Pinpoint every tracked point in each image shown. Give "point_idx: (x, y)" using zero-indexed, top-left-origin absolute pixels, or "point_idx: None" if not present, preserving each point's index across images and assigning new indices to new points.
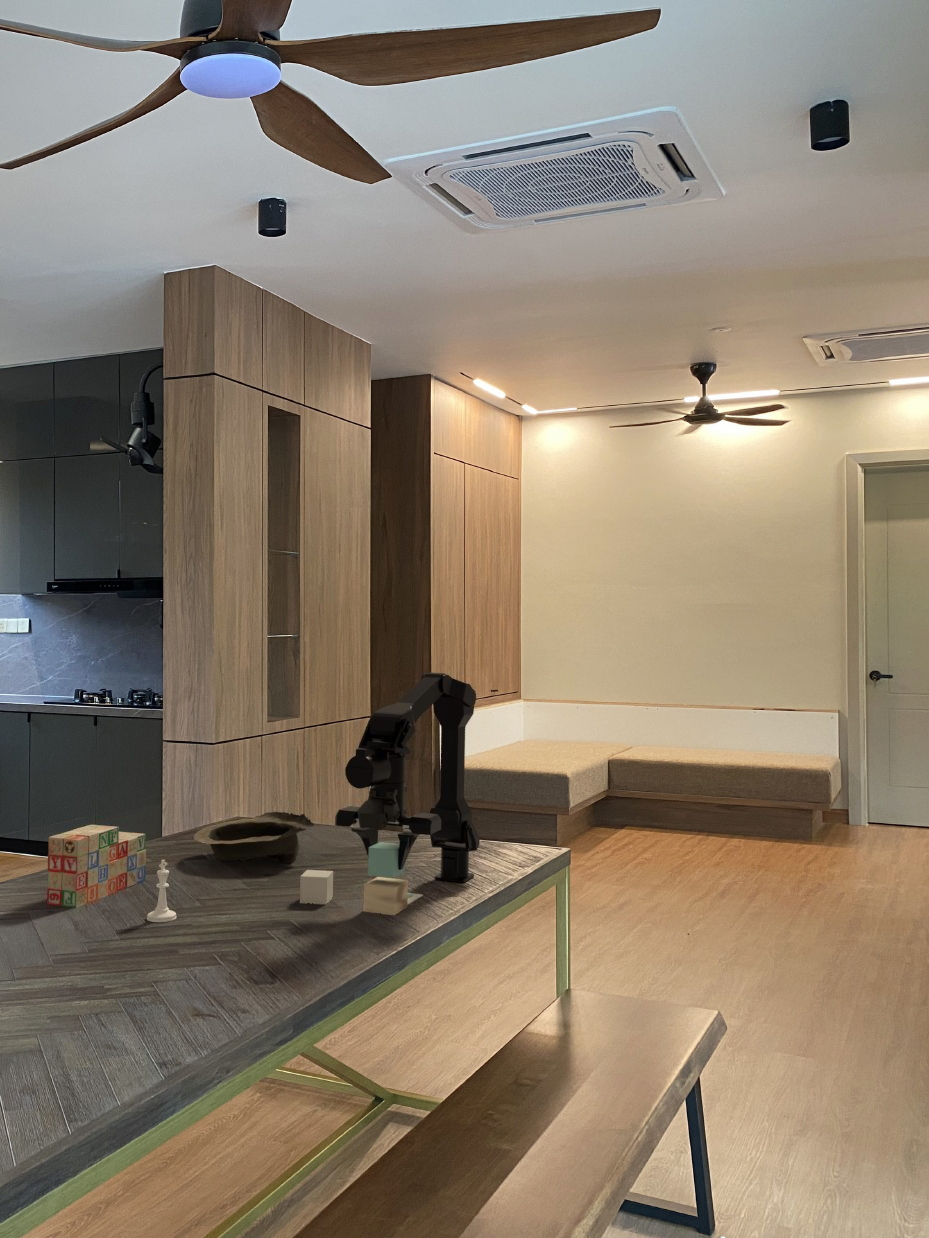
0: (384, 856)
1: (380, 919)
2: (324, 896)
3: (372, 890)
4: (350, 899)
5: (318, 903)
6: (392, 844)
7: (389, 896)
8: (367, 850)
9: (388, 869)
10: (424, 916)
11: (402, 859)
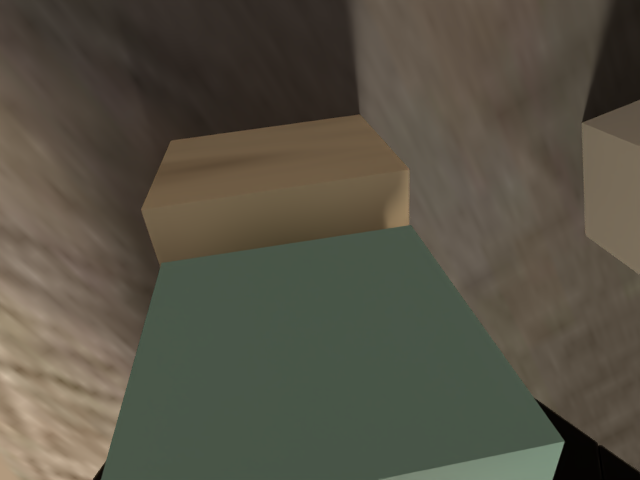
0: (268, 395)
1: (177, 11)
2: (624, 129)
3: (328, 163)
4: (500, 250)
5: (625, 106)
6: None
7: (193, 173)
8: (561, 434)
9: (210, 299)
10: (19, 209)
11: (99, 472)
